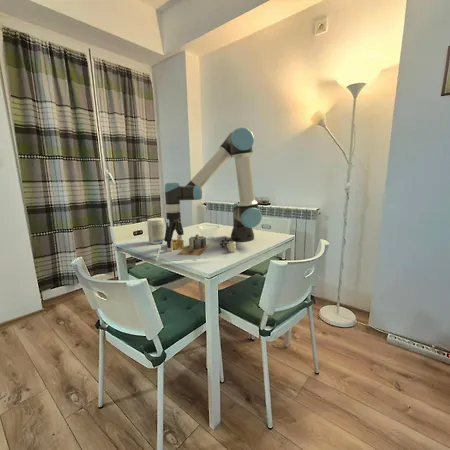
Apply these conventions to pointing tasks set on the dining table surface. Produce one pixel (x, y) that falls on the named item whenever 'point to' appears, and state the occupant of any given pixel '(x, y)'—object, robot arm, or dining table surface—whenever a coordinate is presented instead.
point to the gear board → (196, 251)
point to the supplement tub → (156, 230)
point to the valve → (229, 245)
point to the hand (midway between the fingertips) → (175, 249)
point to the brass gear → (177, 244)
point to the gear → (198, 242)
